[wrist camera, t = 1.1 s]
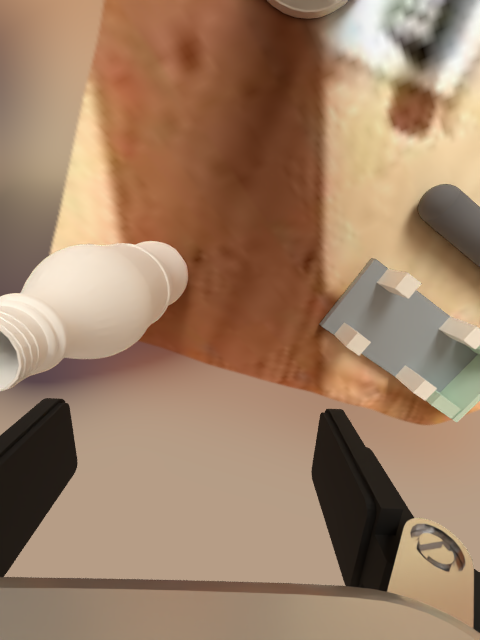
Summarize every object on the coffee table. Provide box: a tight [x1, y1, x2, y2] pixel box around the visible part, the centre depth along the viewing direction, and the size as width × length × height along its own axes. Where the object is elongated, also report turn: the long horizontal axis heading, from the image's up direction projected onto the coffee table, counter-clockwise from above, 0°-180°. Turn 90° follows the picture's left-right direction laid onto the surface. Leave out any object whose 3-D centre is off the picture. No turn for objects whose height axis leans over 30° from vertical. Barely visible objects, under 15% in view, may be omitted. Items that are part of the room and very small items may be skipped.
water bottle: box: [0, 241, 188, 391], centre depth 22 cm, size 7×7×25 cm
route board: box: [320, 258, 480, 422], centre depth 34 cm, size 10×20×5 cm, turn 56°
